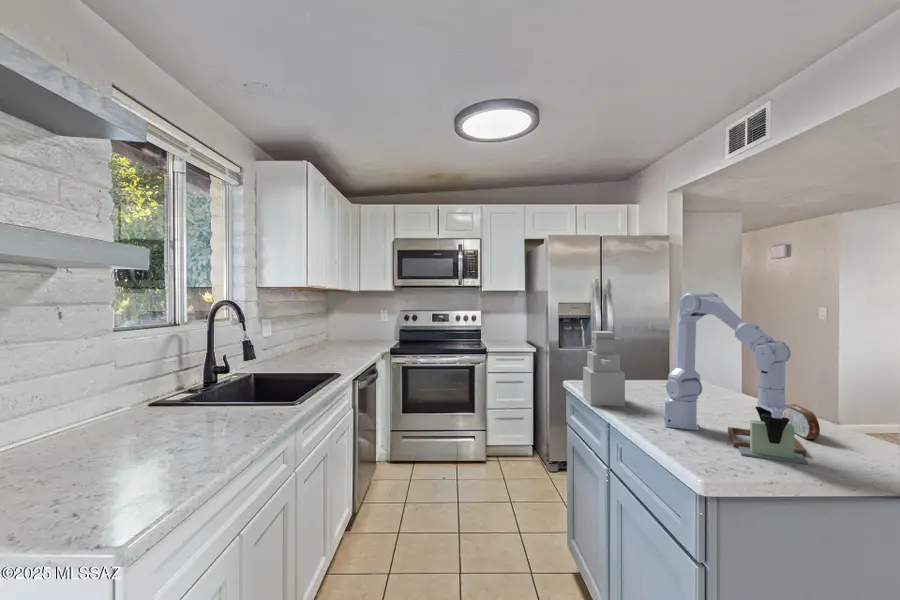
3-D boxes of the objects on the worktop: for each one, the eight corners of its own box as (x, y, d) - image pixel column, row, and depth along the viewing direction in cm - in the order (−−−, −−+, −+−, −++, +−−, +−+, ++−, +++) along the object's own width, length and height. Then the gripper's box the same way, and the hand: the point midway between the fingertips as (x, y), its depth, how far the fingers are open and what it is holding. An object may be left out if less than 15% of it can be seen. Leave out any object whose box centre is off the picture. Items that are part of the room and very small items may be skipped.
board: (752, 452, 116) (752, 423, 116) (750, 449, 119) (750, 420, 119) (794, 458, 112) (794, 427, 112) (791, 454, 115) (791, 424, 115)
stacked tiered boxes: (610, 394, 186) (610, 329, 186) (629, 409, 163) (629, 334, 162) (580, 394, 187) (579, 329, 187) (593, 409, 164) (593, 334, 163)
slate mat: (741, 455, 116) (741, 453, 116) (738, 448, 121) (738, 446, 121) (807, 464, 110) (807, 462, 110) (801, 456, 115) (801, 454, 115)
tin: (821, 443, 125) (821, 414, 125) (808, 442, 125) (808, 413, 125) (791, 427, 139) (791, 401, 139) (780, 427, 140) (780, 400, 140)
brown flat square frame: (733, 447, 122) (733, 441, 122) (727, 431, 136) (727, 427, 136) (805, 456, 115) (805, 450, 115) (791, 439, 128) (791, 434, 128)
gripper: (797, 394, 107) (797, 449, 107) (783, 383, 120) (783, 432, 120) (762, 392, 110) (762, 445, 110) (752, 381, 123) (752, 429, 123)
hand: (771, 438), depth 116 cm, fingers open, 7 cm apart
